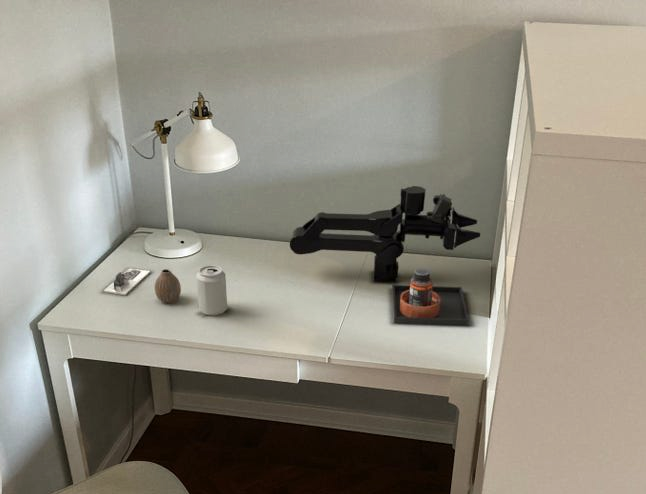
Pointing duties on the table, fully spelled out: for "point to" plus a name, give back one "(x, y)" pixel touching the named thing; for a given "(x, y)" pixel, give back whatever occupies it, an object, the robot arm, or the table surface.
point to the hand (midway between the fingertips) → (478, 228)
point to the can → (212, 290)
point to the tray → (449, 309)
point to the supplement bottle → (421, 288)
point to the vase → (167, 287)
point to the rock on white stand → (126, 281)
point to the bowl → (420, 311)
